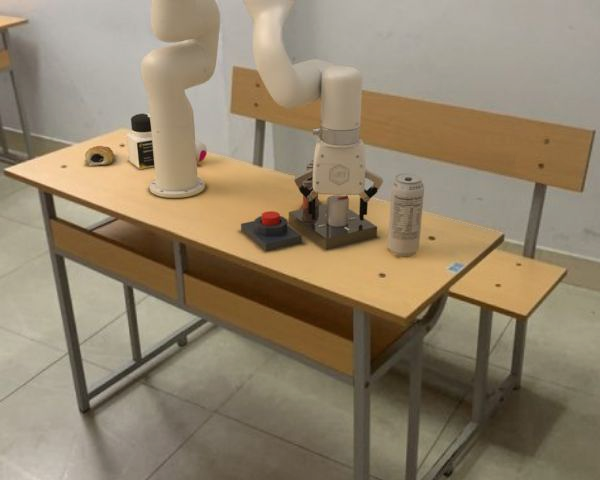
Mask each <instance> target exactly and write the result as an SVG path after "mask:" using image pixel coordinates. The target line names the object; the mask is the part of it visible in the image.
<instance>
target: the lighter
mask: <svg viewBox="0 0 600 480" xmlns="http://www.w3.org/2000/svg"><path fill="white" fill-rule="evenodd" d="M313 163H314V159H313V160H311V161H310V163H309V164H308V163H307V164H306V166H305V167H306V168H305V172H306V171H308V170H310V169H312V168H313ZM303 183H304V185H305V186H306V187H307V188H308V189H309V190H310V189H311V188H312V186H313V177H311V178H309V179H307V180H305V181H303ZM308 202H309V201H308V200H307V198H306V197H305V196H304V195H303V194H302V205H301V209H305V208H308ZM319 205H320V199H319V194H318V195H317V196H316V206H319Z"/></svg>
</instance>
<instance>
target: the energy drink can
mask: <svg viewBox="0 0 600 480" xmlns="http://www.w3.org/2000/svg"><path fill="white" fill-rule="evenodd" d="M422 179H423V178H422V176H421V175H418V174H415V173H399V174H397V175H395V179H394V181H393V183H392V184H391V192H390V206H389V207H390V208H389V222H388V234H387V237H388V238H387V239H388V240H387V248H388V249H389V251H390V252H391V254H393V255H395V256H399V257H403V258H405V257H411V256H414V255H416V252H417V251H418V250H419V249H420V240H421V229H422V219H423V207H424V196H425V185H424V183H423V181H422Z"/></svg>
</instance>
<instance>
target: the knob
mask: <svg viewBox="0 0 600 480" xmlns="http://www.w3.org/2000/svg"><path fill="white" fill-rule="evenodd" d="M326 204H327V219H326V222H327V224H328V225H330V226H335V227H341V226H345V225H347V224H348V216H349V209H350V198H349V195H329V196H327V198H326Z"/></svg>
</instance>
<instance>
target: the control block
mask: <svg viewBox="0 0 600 480" xmlns="http://www.w3.org/2000/svg"><path fill="white" fill-rule="evenodd" d="M240 232H242V233H243V234H244V235H245V236H246V237H248V238H249V239H250V240H252V242H254V243H255V244H256V245H257V246H259V247H260V248H261V249H262V250H263V251H264V252H270V251H273V250H278V249H282V248H287V247H291V246H295V245H299V244H302V242H303V235H302V234H300V233H299V232H298V231H296V230H295V229H294V228H292V227H291V226H289V225H288V219H287V218H286V217H284V216H281V215H280V224H278V225H274V226H267V225H263V224H262V215H260V216H258V217H257V218H254V220H251V221H247V222H242V223H240Z"/></svg>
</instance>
